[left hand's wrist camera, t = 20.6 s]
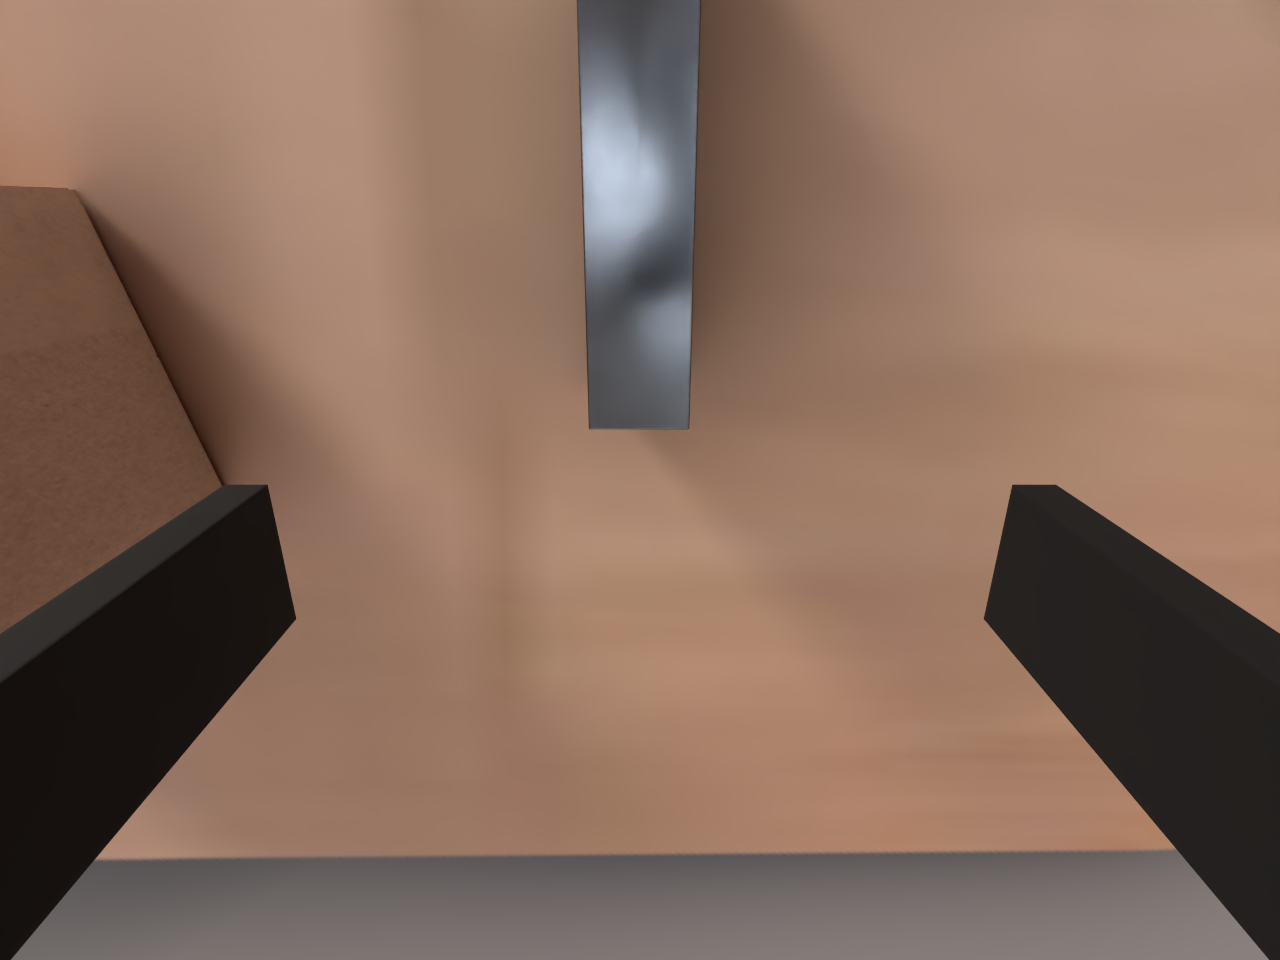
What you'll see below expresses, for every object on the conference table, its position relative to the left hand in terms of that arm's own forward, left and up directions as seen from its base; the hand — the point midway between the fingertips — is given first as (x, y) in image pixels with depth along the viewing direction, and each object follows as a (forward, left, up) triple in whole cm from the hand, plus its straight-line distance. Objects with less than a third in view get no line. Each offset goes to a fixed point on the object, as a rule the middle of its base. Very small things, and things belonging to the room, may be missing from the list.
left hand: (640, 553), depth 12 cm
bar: (-8, -1, -28) cm, 30 cm away
